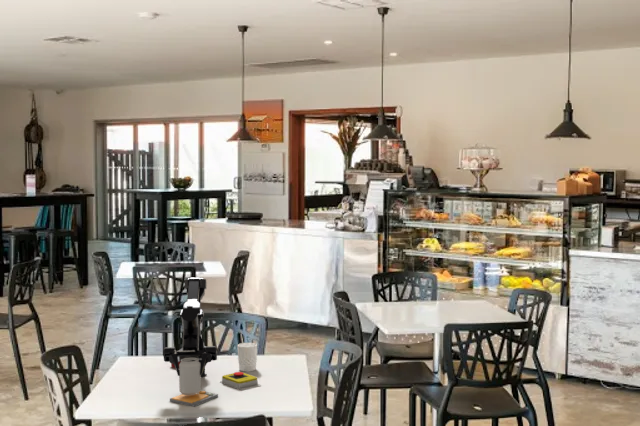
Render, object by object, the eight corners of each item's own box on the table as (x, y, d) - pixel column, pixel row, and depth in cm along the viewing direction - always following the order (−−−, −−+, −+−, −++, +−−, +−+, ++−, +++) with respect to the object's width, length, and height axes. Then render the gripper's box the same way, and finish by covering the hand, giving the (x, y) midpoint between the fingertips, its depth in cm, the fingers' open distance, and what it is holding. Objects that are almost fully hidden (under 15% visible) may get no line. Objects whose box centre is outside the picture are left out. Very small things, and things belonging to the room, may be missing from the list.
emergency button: (238, 367, 319) (262, 375, 308) (238, 378, 319) (262, 387, 308) (218, 371, 313) (242, 380, 301) (218, 383, 313) (242, 391, 302)
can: (205, 392, 290) (205, 358, 289) (189, 397, 284) (188, 363, 283) (191, 388, 295) (190, 355, 294) (175, 393, 289) (174, 359, 288)
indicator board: (169, 401, 289) (169, 397, 288) (194, 392, 300) (194, 388, 299) (193, 406, 283) (193, 402, 283) (217, 396, 294) (217, 392, 294)
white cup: (261, 368, 332) (261, 344, 331) (249, 373, 326) (249, 348, 325) (245, 365, 336) (245, 341, 336) (233, 370, 330) (233, 345, 329)
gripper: (217, 347, 305) (217, 385, 295) (166, 348, 303) (164, 387, 293) (216, 331, 296) (216, 369, 286) (164, 332, 294) (162, 371, 284)
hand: (189, 375), depth 288 cm, fingers closed on can, 7 cm apart
